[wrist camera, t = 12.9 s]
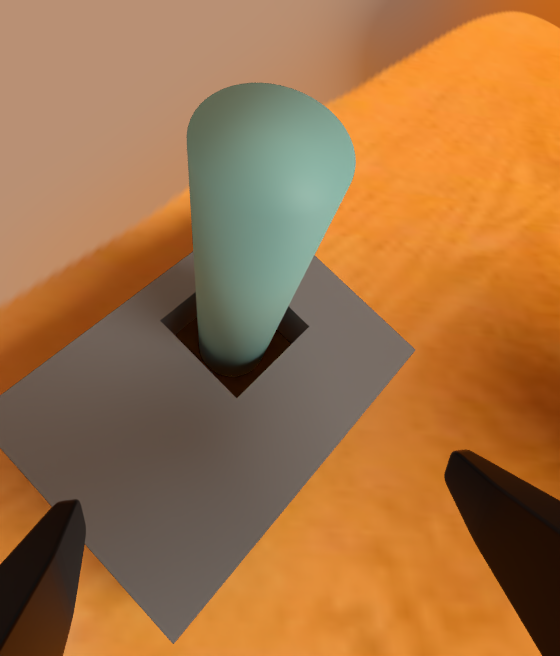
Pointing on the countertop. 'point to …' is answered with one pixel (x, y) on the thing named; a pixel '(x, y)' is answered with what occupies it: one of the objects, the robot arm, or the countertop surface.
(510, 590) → the robot arm
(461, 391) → the countertop surface
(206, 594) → the socket plate
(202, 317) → the teal peg
